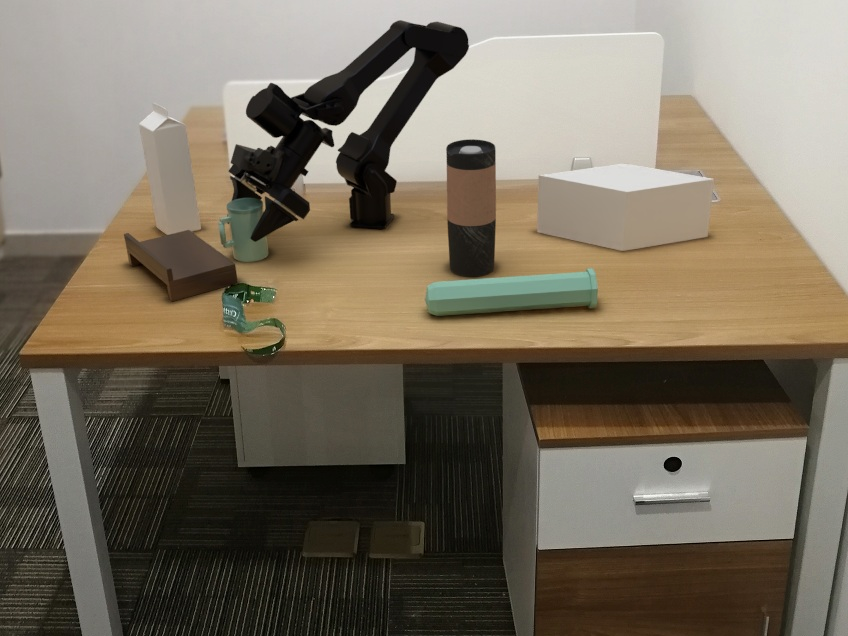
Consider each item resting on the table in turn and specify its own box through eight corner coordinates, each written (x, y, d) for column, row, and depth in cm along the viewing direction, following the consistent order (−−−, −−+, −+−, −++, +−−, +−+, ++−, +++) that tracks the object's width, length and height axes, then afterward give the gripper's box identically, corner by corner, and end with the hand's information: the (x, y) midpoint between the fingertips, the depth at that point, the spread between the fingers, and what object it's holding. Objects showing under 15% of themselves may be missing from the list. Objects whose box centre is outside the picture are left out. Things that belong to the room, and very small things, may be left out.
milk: (170, 238, 178) (148, 112, 167) (156, 227, 182) (134, 104, 171) (202, 229, 181) (183, 105, 170) (187, 219, 185) (168, 98, 174)
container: (424, 280, 145) (596, 268, 147) (422, 278, 151) (588, 267, 153) (426, 321, 146) (598, 309, 148) (425, 318, 152) (590, 306, 153)
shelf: (191, 248, 173) (187, 218, 171) (238, 283, 161) (233, 251, 158) (129, 264, 168) (123, 233, 165) (172, 301, 155) (166, 269, 152)
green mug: (259, 245, 174) (253, 195, 169) (275, 256, 170) (269, 204, 165) (216, 256, 170) (209, 205, 165) (231, 268, 166) (224, 215, 161)
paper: (538, 217, 183) (540, 161, 178) (703, 221, 180) (709, 165, 174) (535, 248, 170) (536, 189, 165) (711, 253, 167) (719, 194, 162)
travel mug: (501, 261, 166) (502, 141, 156) (487, 280, 160) (487, 156, 150) (457, 256, 168) (455, 137, 158) (441, 274, 162) (438, 152, 152)
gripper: (232, 113, 168) (179, 191, 168) (285, 139, 155) (228, 223, 155) (279, 150, 176) (229, 224, 176) (334, 178, 163) (279, 258, 163)
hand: (240, 231), depth 167 cm, fingers open, 9 cm apart
